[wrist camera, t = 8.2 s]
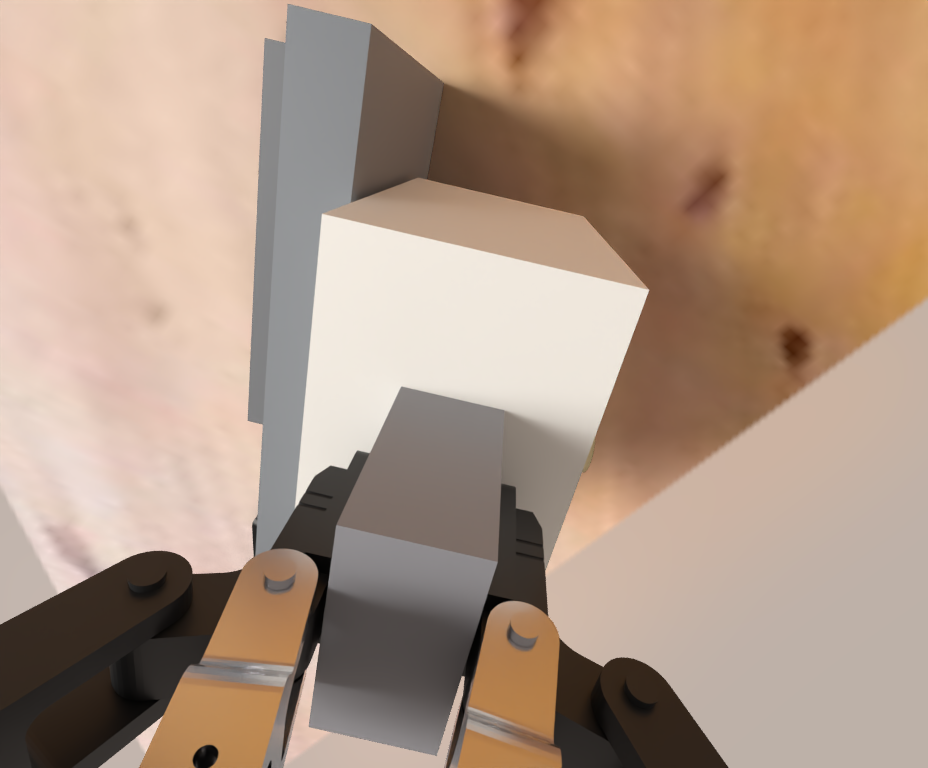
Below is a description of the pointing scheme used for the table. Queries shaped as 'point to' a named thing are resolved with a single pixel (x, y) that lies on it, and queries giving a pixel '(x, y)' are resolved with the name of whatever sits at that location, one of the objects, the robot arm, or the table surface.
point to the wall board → (319, 203)
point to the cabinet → (445, 425)
